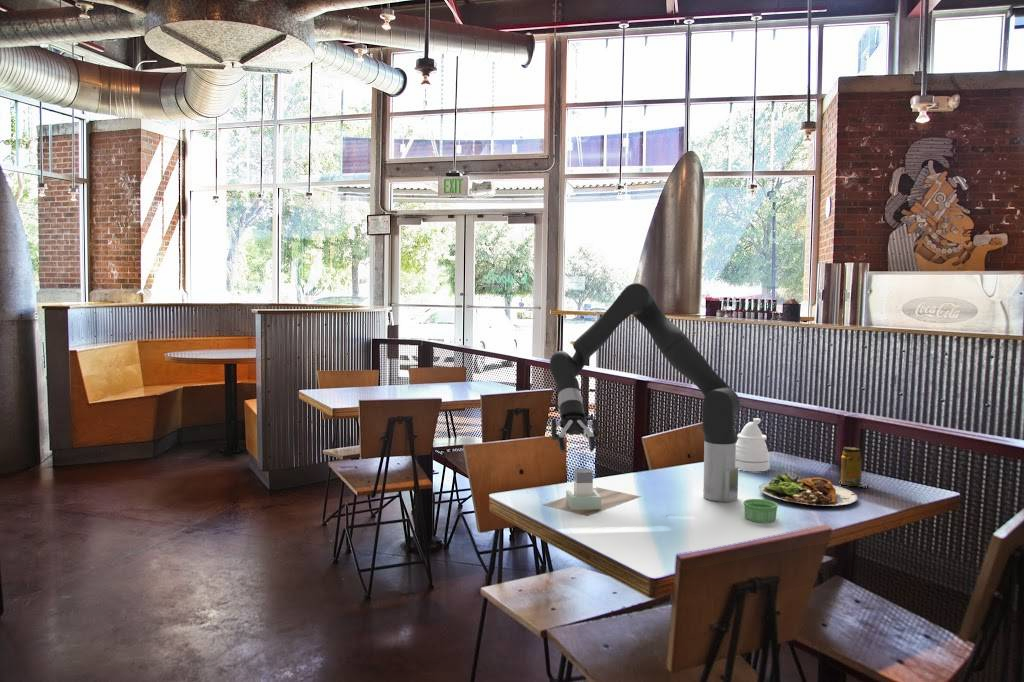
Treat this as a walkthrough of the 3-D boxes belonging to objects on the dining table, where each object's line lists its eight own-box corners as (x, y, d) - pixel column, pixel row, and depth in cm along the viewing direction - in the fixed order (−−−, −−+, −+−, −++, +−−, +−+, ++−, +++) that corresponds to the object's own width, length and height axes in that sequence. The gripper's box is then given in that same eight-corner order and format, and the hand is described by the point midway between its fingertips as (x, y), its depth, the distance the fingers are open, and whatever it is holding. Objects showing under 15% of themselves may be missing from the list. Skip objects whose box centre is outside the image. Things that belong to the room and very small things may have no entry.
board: (640, 500, 222) (640, 496, 222) (587, 520, 202) (587, 515, 202) (596, 491, 232) (596, 487, 232) (542, 508, 212) (542, 504, 212)
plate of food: (739, 490, 235) (740, 471, 235) (810, 482, 245) (811, 464, 244) (802, 517, 209) (803, 496, 208) (878, 507, 218) (879, 487, 218)
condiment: (840, 481, 247) (841, 445, 247) (868, 484, 243) (869, 447, 243) (838, 485, 241) (839, 449, 240) (867, 489, 237) (868, 451, 236)
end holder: (566, 502, 215) (566, 490, 215) (595, 501, 216) (595, 489, 216) (571, 509, 207) (571, 497, 207) (601, 509, 208) (601, 496, 208)
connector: (573, 503, 214) (574, 469, 213) (589, 502, 214) (589, 468, 214) (576, 507, 210) (577, 472, 209) (592, 507, 210) (592, 472, 209)
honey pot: (775, 468, 266) (776, 418, 265) (760, 474, 256) (761, 422, 255) (741, 462, 274) (742, 414, 273) (725, 468, 265) (726, 418, 264)
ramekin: (775, 515, 208) (776, 500, 207) (779, 525, 199) (779, 508, 199) (742, 513, 210) (742, 497, 209) (744, 522, 201) (744, 506, 201)
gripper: (549, 399, 227) (555, 443, 216) (595, 398, 228) (603, 442, 218) (546, 413, 232) (552, 457, 222) (591, 413, 234) (599, 456, 223)
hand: (577, 450), depth 220 cm, fingers open, 8 cm apart
